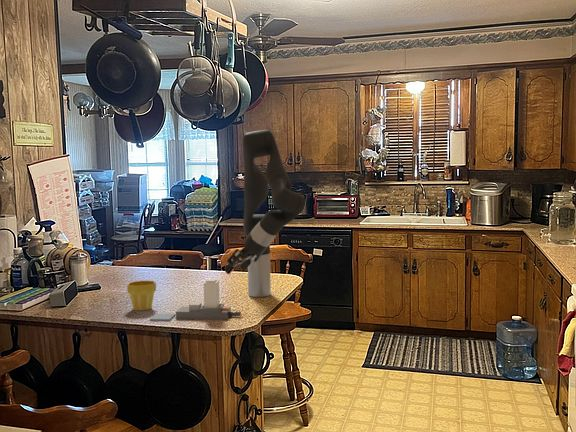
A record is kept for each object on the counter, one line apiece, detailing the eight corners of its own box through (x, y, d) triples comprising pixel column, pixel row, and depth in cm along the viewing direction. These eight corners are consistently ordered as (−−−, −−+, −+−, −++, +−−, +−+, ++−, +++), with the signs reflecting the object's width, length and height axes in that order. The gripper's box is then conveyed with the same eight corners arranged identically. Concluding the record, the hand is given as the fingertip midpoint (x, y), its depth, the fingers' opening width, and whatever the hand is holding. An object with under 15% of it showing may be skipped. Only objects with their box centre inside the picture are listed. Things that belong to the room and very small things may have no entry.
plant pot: (131, 305, 218) (130, 280, 217) (158, 304, 219) (157, 279, 218) (125, 312, 208) (124, 286, 207) (154, 311, 208) (153, 285, 208)
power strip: (181, 313, 205) (181, 301, 205) (242, 314, 203) (242, 301, 203) (176, 318, 198) (175, 306, 198) (238, 319, 196) (238, 306, 196)
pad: (156, 315, 203) (156, 313, 203) (175, 315, 202) (175, 313, 202) (149, 320, 196) (149, 318, 196) (169, 320, 195) (169, 319, 195)
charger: (207, 307, 203) (206, 278, 202) (219, 307, 202) (218, 278, 201) (204, 311, 198) (203, 281, 197) (216, 311, 198) (216, 281, 197)
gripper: (266, 227, 194) (240, 259, 201) (240, 231, 182) (214, 265, 189) (279, 243, 191) (253, 275, 198) (254, 248, 179) (227, 281, 186)
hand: (234, 270), depth 193 cm, fingers open, 8 cm apart
